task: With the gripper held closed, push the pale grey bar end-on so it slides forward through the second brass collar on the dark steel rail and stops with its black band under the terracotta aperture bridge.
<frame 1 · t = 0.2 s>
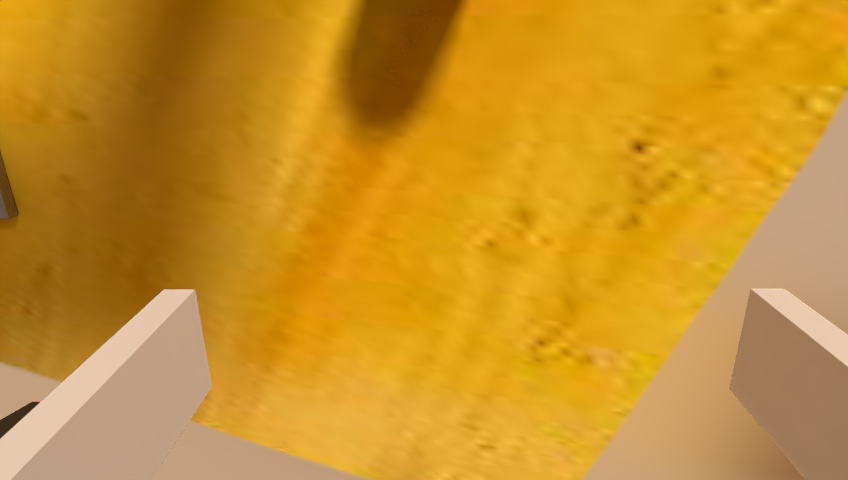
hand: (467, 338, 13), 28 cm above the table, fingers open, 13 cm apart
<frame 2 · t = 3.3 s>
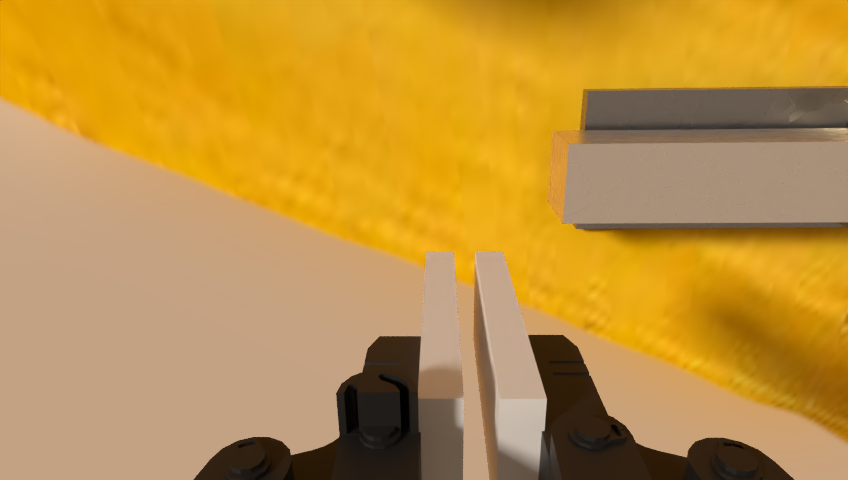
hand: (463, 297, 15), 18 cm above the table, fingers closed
pale grey bar: (771, 173, 28), point 4 cm above the table, slide at 0.0 cm
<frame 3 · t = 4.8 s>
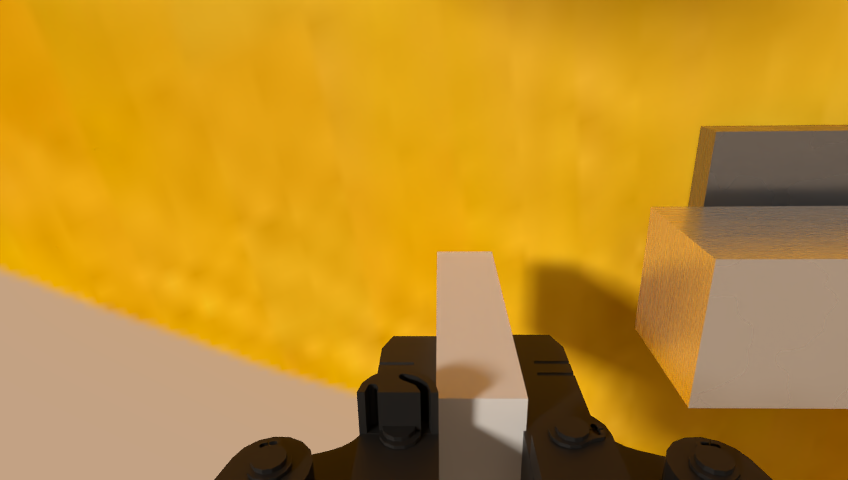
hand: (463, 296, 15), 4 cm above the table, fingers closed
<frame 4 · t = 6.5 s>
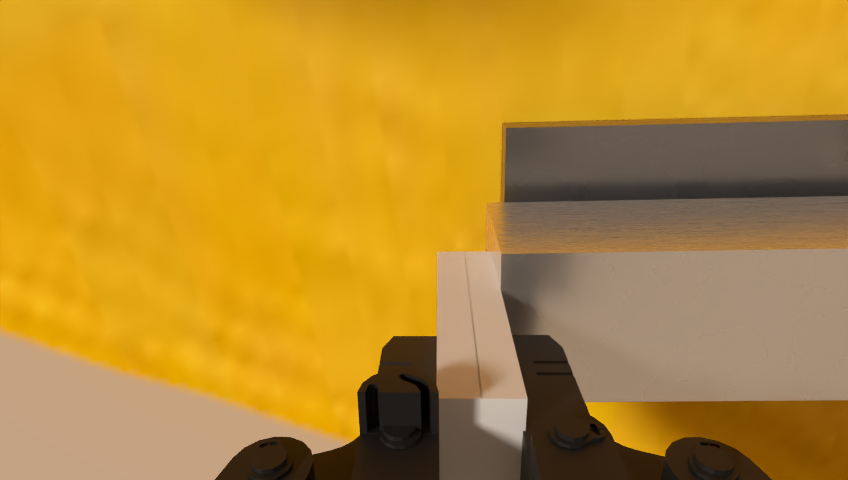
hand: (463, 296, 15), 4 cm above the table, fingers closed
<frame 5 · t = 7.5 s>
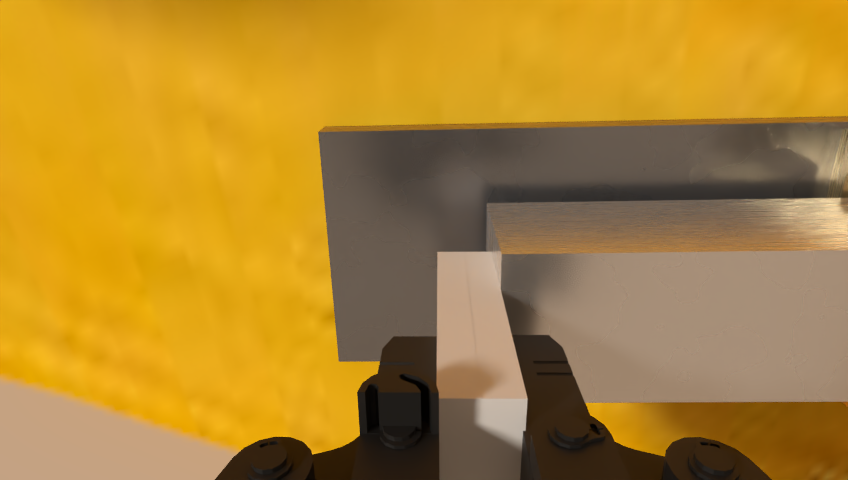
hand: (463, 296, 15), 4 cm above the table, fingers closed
rail: (812, 238, 18), on the table
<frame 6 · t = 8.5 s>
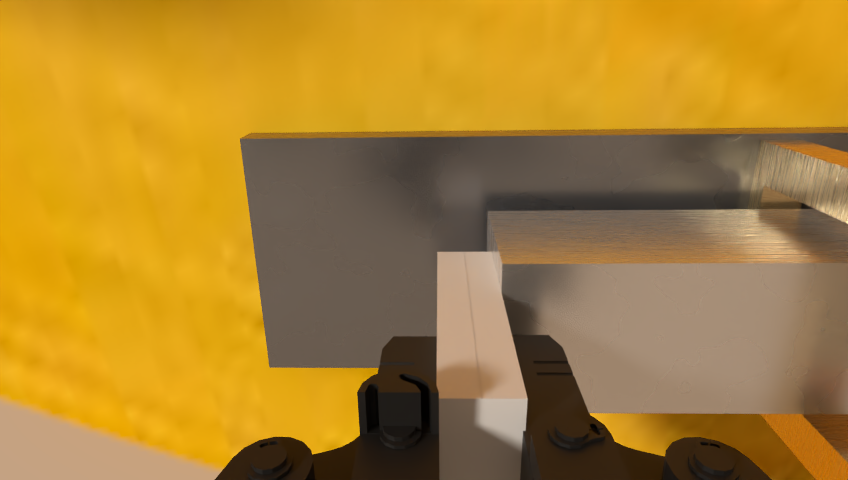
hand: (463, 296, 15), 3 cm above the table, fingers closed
rail: (740, 248, 18), on the table
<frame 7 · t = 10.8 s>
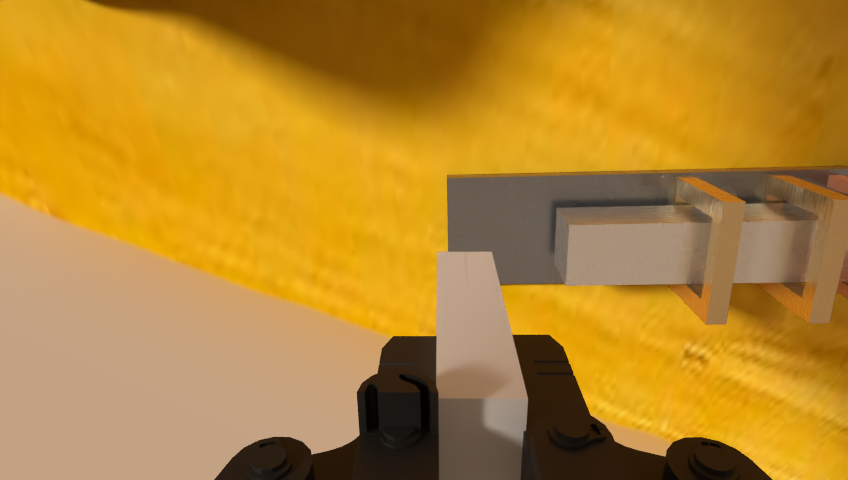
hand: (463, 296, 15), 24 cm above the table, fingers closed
aperture gantry: (815, 222, 39), resting on rail
pale grey bar: (733, 242, 35), point 4 cm above the table, slide at 9.4 cm
rail: (671, 224, 39), on the table
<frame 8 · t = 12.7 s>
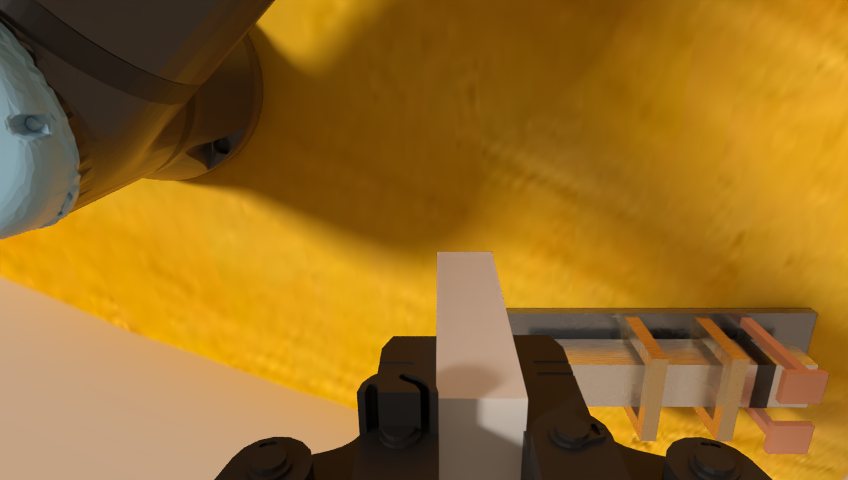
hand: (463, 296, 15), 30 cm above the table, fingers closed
aperture gantry: (732, 347, 50), resting on rail
pale grey bar: (665, 372, 47), point 4 cm above the table, slide at 9.4 cm
rail: (622, 347, 50), on the table
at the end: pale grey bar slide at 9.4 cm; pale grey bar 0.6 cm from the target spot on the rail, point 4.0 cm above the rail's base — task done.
